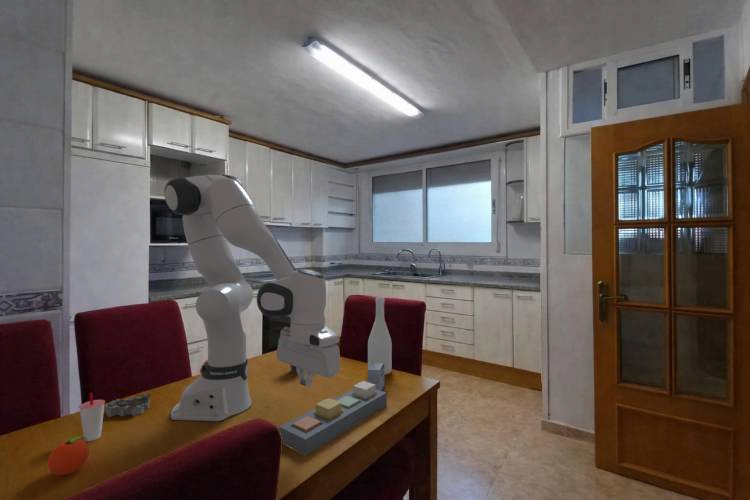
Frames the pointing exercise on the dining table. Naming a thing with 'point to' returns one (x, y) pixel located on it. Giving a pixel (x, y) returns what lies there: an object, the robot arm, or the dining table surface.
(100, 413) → the cup
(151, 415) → the dining table surface
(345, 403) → the button sage
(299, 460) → the dining table surface
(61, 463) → the clementine
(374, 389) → the button cream
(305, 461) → the dining table surface
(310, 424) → the button terracotta
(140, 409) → the egg carton
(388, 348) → the grey bottle
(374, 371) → the medicine box
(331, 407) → the button mustard
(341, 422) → the tray
